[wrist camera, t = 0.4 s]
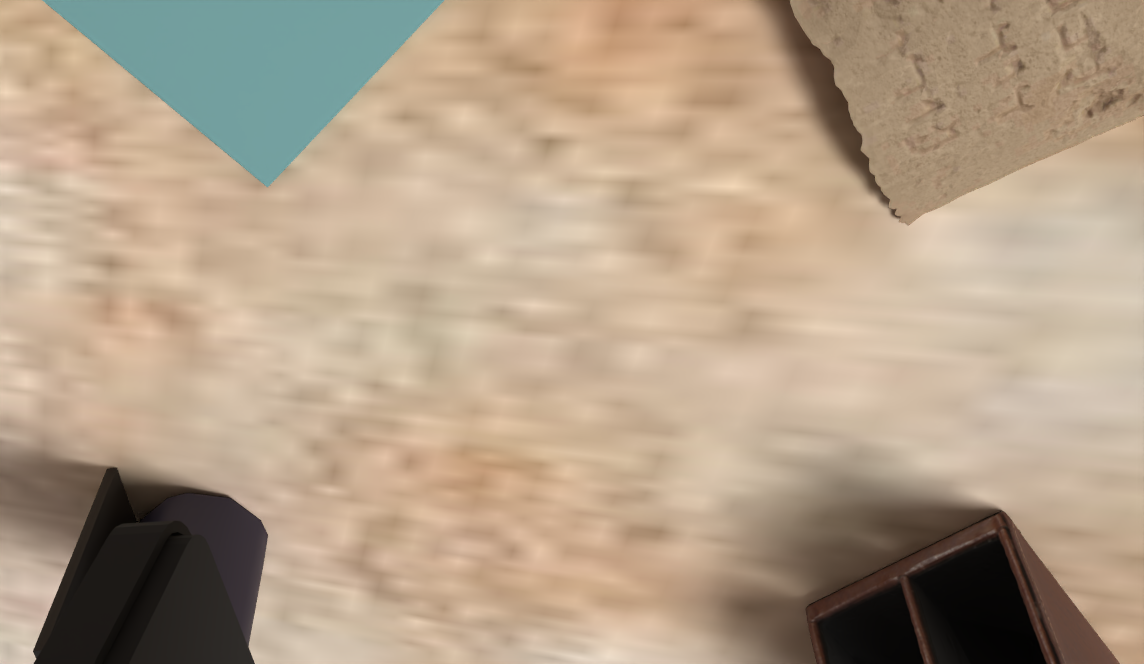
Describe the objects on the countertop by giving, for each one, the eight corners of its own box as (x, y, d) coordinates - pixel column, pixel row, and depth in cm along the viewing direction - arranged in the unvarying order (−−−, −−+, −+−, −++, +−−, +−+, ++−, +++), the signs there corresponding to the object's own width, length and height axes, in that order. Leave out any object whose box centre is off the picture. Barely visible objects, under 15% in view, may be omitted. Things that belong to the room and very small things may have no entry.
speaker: (97, 563, 50) (13, 754, 41) (107, 464, 47) (20, 646, 38) (266, 590, 51) (220, 780, 42) (286, 496, 49) (241, 678, 40)
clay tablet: (722, -109, 34) (729, -92, 32) (1036, -309, 31) (1069, -307, 29) (909, 242, 41) (926, 277, 38) (1187, 104, 37) (1224, 134, 35)
